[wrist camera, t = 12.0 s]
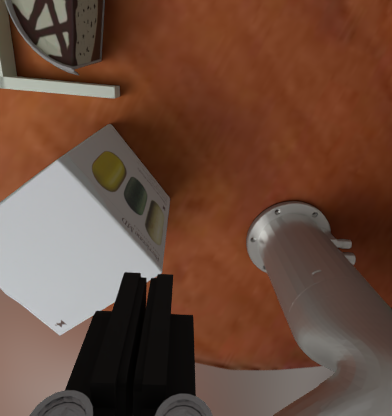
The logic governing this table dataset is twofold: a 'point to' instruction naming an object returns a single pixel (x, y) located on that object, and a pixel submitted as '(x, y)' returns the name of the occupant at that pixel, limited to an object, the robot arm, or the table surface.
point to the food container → (61, 30)
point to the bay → (7, 78)
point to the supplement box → (82, 231)
